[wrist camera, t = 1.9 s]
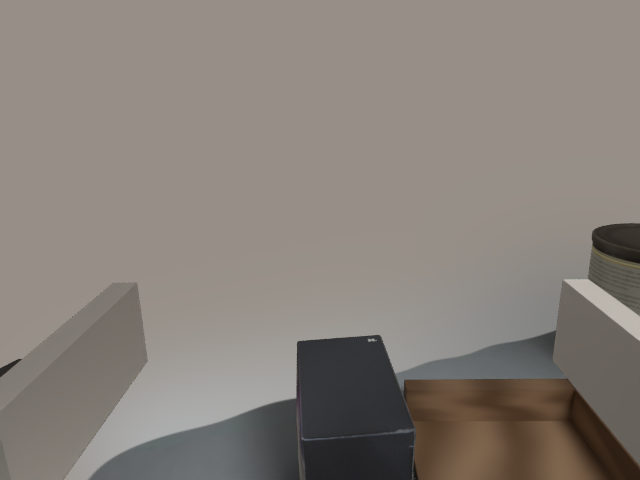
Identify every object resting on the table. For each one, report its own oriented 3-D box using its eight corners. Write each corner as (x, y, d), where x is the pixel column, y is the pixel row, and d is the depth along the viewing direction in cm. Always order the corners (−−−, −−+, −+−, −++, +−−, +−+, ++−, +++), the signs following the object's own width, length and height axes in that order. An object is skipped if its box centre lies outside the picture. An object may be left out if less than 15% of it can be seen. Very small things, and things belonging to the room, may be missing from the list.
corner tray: (579, 415, 42) (584, 378, 41) (720, 601, 26) (734, 550, 25) (403, 416, 42) (404, 379, 41) (442, 598, 27) (445, 548, 26)
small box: (298, 458, 38) (293, 336, 35) (381, 452, 38) (383, 331, 35) (303, 591, 28) (296, 435, 25) (416, 581, 28) (422, 427, 25)
